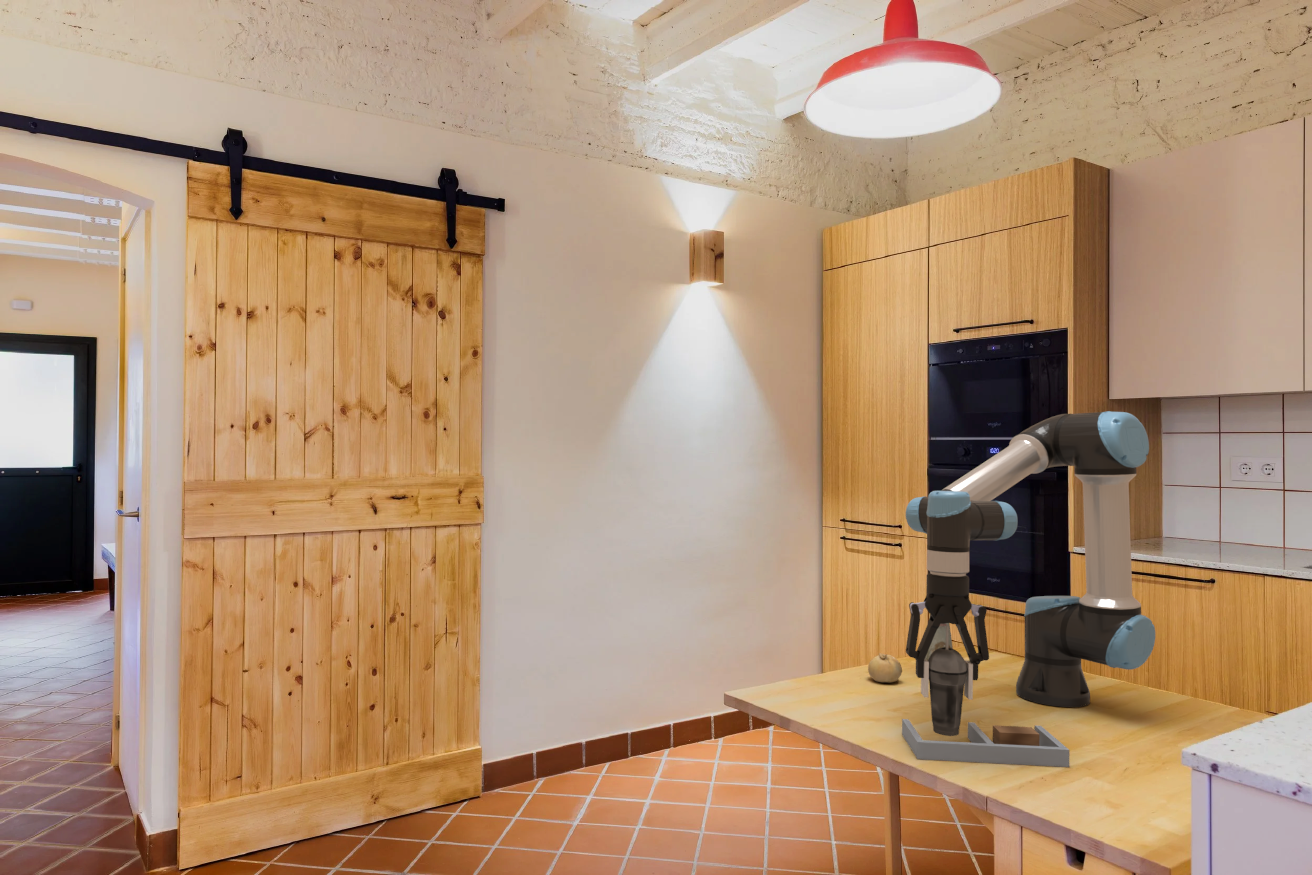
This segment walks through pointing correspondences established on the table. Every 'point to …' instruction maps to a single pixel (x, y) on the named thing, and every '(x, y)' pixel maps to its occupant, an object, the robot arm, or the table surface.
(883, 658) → the onion
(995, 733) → the walnut bar
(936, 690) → the beverage cup
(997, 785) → the table surface
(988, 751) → the slot rack
